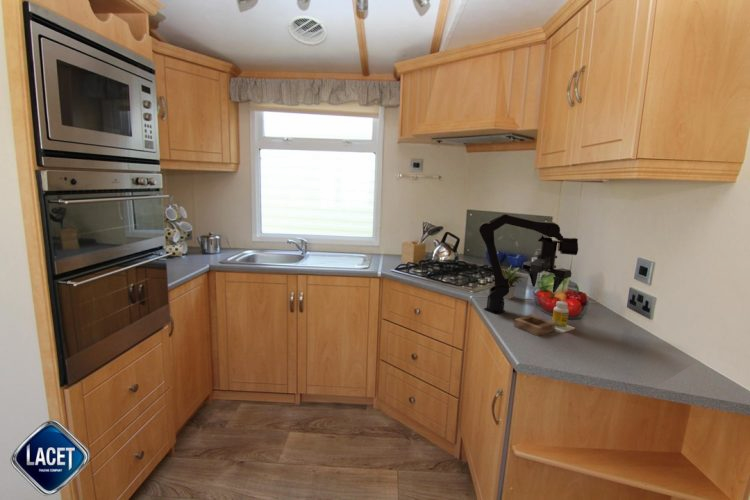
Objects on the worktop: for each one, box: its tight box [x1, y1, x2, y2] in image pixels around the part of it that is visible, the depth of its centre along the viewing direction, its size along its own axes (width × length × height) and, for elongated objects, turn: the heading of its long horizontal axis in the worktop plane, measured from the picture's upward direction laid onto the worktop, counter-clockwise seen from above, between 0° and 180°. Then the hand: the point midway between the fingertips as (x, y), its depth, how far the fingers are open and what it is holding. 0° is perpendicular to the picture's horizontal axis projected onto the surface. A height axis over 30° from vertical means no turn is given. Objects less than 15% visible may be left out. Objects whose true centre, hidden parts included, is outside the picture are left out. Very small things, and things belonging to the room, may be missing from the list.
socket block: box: [513, 314, 556, 337], centre depth 145 cm, size 10×10×3 cm
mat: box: [555, 324, 576, 334], centre depth 147 cm, size 8×8×1 cm
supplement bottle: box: [551, 300, 570, 328], centre depth 146 cm, size 5×5×10 cm
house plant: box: [501, 265, 524, 300], centre depth 182 cm, size 14×14×16 cm
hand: (543, 289), depth 156 cm, fingers open, 9 cm apart
